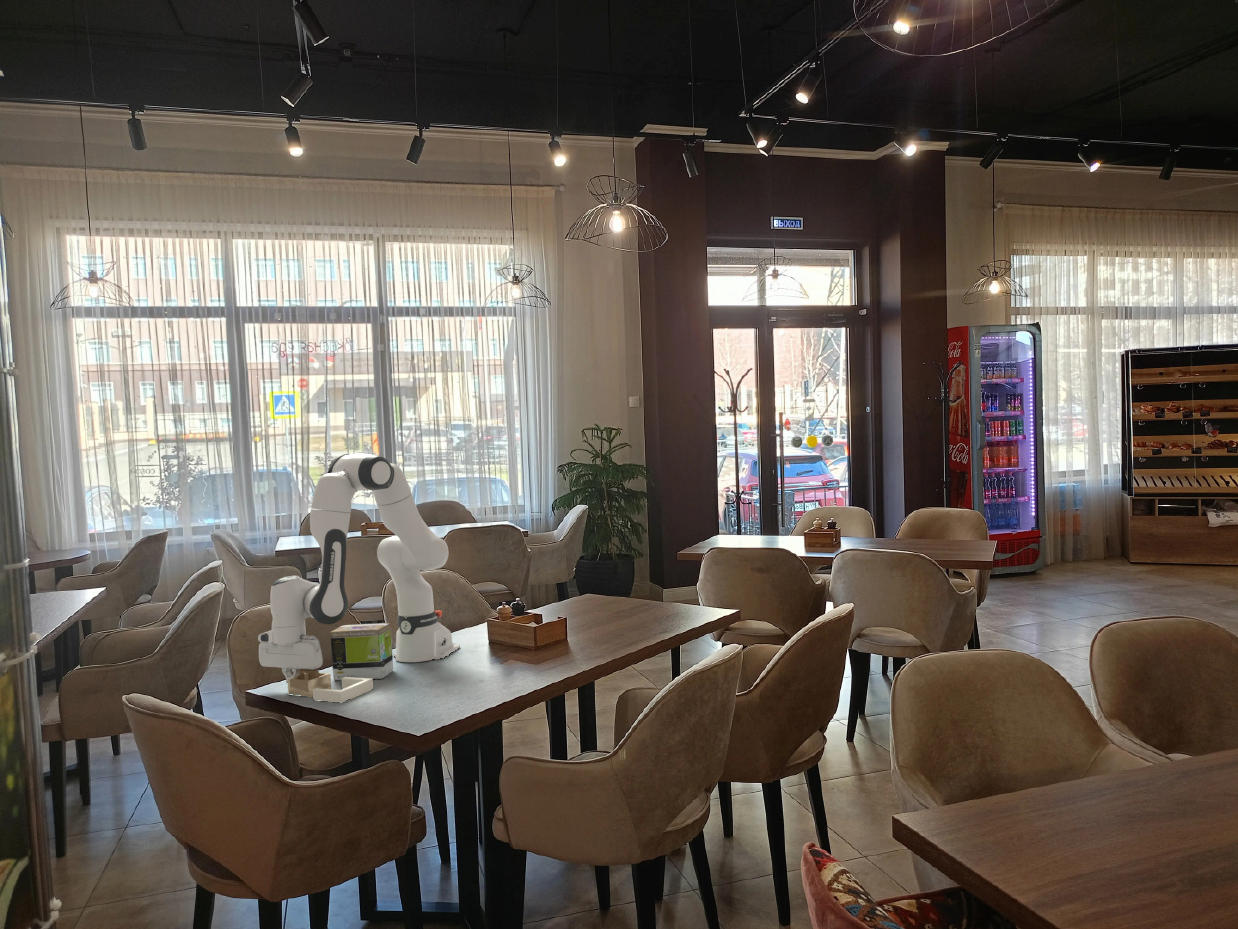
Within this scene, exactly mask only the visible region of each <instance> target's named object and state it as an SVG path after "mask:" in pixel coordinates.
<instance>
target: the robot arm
mask: <svg viewBox="0 0 1238 929" xmlns="http://www.w3.org/2000/svg"><path fill="white" fill-rule="evenodd" d="M357 491H359V492H360V491H371V492H372V493H373V497H374V500H375V503H376V506H377V509H378V511H379V515H380V519H381V520H382V524H383V525H384V527H385V528H386V529H387V530H389V531H390V532H392V533H393V534H394V535H393V536H388V537H386V538H384V539H382V540H381V541H380V543H379V544H378V547H377V548H376V555H377V556H376V557H377V560H378V562H379V563H380V565H381V566H383V567H384V569H385V570H386V571H387V573H389V575H390V577H391V580H392V582H393V584H394V587H395V592H396V599H397V611H398V612H397V613H398V614H397V615H396V623H397V627H398V629H397V630H396V635H395V636H396V637H395V638H396V639H395V652H394V653H393V657H394V656H395V657H394V658H395V660H396V661H397V662H401V663H420V662H427V661H433V660H432V659H435V660H441V659H440V658H443V659H445V658H446V657H445V656H447V657H448V656H450V655H451V654H452V653H451V652H453V651H454V650H456V651H457V650H459V649H460V648H461V645H460V644H458V643H453V637H452V632H451V631H450V629H448V628H447V627H446V626H444V625H442V623H441V622H439V619H438V617H439V618H441V617H442V616H443V612H442V610H435V609H434V607H435V606H434V593H433V590H434V589H433V587H432V585H431V584H430V583H429V582H427V581H426V580H425V579H424V577H423V576H422V573H421V571H431V570H437V569H441V568H442V567H444V566H445V564H446V563H447V561H448V558H449V552H450V551H449V547H448V544H447V543H446V541H445V540H444V539H443V538H442V537H439V536H438V535H437V534H435V533H434V531H432V529H431V528H430V527H429V526H428V525H427V524H426V522H425V521H424V520H423V518H422V516H421V514H420V512H419V510H418V508H417V505H416V501H415V499H414V496H413V492H412V490H411V487H410V485H409V483H408V480H407V479H406V476H405V474H404V472H403V470H402V469H401V467H400V466H399V465H398V464H397V463H393V462H390V461H389V460H388V459H386V458H385V457H383V456H382V455H379V454H376V453H375V454H373V453H372V454H371V453H365V452H363V453H362V452H358V453H346V454H341V455H339V456H336V457H335V458H334V459H332V461H331V462H330V464H329V467H328V471H327V472H326V474H323V475H321V476H320V477H319V478H318V481H317V483H316V486H315V489H314V491H313V496H312V501H311V506H310V507H311V508H310V514H309V528H310V531H309V532H310V533H311V535H312V537H313V538H314V539H315V541H316V543H317V544H318V546H319V548H320V551H321V566H320V567H321V568H320V569H321V570H320V583H317V582H312V581H309V580H307V579H304V578H302V577H300V576H299V575H296V574H295V575H290V576H289V575H288V576H284V577H281V578H279V579H276V580H274V581H273V583H272V584H271V586H270V595H269V597H270V598H269V599H270V600H269V604H270V612H271V616H272V621H271V629H270V630H269V631H265V632H262V633H260V634H258V635H257V636H258V637H257V638H258V639H257V640H258V642H259V645H258V661H259V663H260V665H261V667H268V668H281V672H282V674H283V675H284V677H285V683H286V684H288V679H290V678H293V677H296V676H298V675H299V670H301V669H302V670H317V669H319V668H321V667H322V666H323V663H324V661H323V654H322V648H321V645H320V640H319V639H318V638H317V637H316V636H315V635H312V634H311V635H308V634H307V632H306V619H308V618H313V619H314V620H315V621H317V622H318V623H320V624H323V625H333V624H336V623H338V622H339V621H341V620H342V619H343V618H344V617H345V615H346V614H347V612H348V608H349V600H348V596H347V592H346V589H345V588H346V587H345V578H346V577H345V575H346V560H347V542H348V533H349V527H350V520H351V515H352V514H351V513H352V512H351V511H352V502H353V498H354V495H355V494H356V493H357ZM459 647H460V648H459ZM458 648H459V649H458ZM454 652H455V651H454ZM454 652H453V653H454ZM450 653H451V654H450ZM449 654H450V655H449ZM444 657H445V658H444Z"/></svg>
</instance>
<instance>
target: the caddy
mask: <svg viewBox="0 0 1238 929" xmlns="http://www.w3.org/2000/svg"><path fill="white" fill-rule="evenodd" d="M331 678H332V676H331V673H330V672H320V671H319V670H317V669H314V670H311V669H301V670H299V675H298V676H296V677H293V678H290V679H288V683H287V691H288V693H287V694H293V695H301V696H308V697H307V698H313V697H312V696H313V690H314V689H316V688H319V689H332V679H331Z"/></svg>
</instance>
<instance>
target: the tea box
mask: <svg viewBox="0 0 1238 929" xmlns="http://www.w3.org/2000/svg"><path fill="white" fill-rule="evenodd" d="M391 632H392V631H391V623H390V622H383V623H382V622H381V623H360V624H344V625H341V626H339V627H337V628H336V629H333V630H332V631H330V632H329V634H330V635H329V636H330V637H329V639H330V649H331V664H332V674H333V681H342V678H343V677H357V678H371V679H373V680H376V679H378V680H379V679H382V680H383V679H384V678H385V677H386V676H389V674H390V673H392V672H393V671H394V660H393V659H394V654H393V646H392V644H393V643H392V633H391Z"/></svg>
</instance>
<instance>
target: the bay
mask: <svg viewBox="0 0 1238 929" xmlns="http://www.w3.org/2000/svg"><path fill="white" fill-rule="evenodd" d="M373 682H374V679H371V678H357V677H343V678H342V680H341V689H332V688H331V689H319V688H316V689H314V690H313V697H312V698H313V699H314V700H321V701H328V702H327V703H332V702H341V703H340V704H343V703H342V702H344V701H346V700H348V699H350V700H353V699H354V698H357V697H358V696H361V695H363V693H364V694H366V693H368V692H370V691H372V689H373V690H374V683H373ZM342 688H344V689H342ZM329 701H330V702H329ZM331 701H332V702H331ZM348 701H349V700H348ZM346 702H347V701H346ZM344 703H345V702H344Z"/></svg>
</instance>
